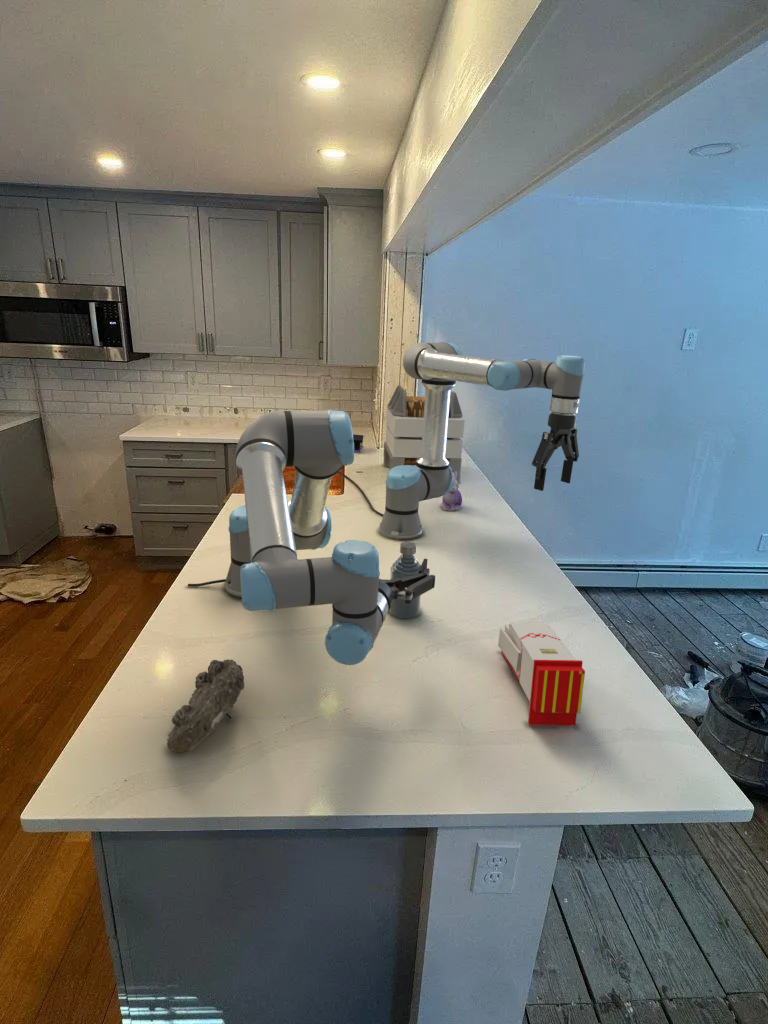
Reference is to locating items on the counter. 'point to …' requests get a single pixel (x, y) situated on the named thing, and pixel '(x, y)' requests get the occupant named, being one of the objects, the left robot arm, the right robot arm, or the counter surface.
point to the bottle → (401, 569)
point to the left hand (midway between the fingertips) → (395, 560)
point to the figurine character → (358, 442)
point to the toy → (544, 672)
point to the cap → (408, 548)
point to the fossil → (206, 705)
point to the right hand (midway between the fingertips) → (552, 485)
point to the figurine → (452, 497)
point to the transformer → (418, 431)
